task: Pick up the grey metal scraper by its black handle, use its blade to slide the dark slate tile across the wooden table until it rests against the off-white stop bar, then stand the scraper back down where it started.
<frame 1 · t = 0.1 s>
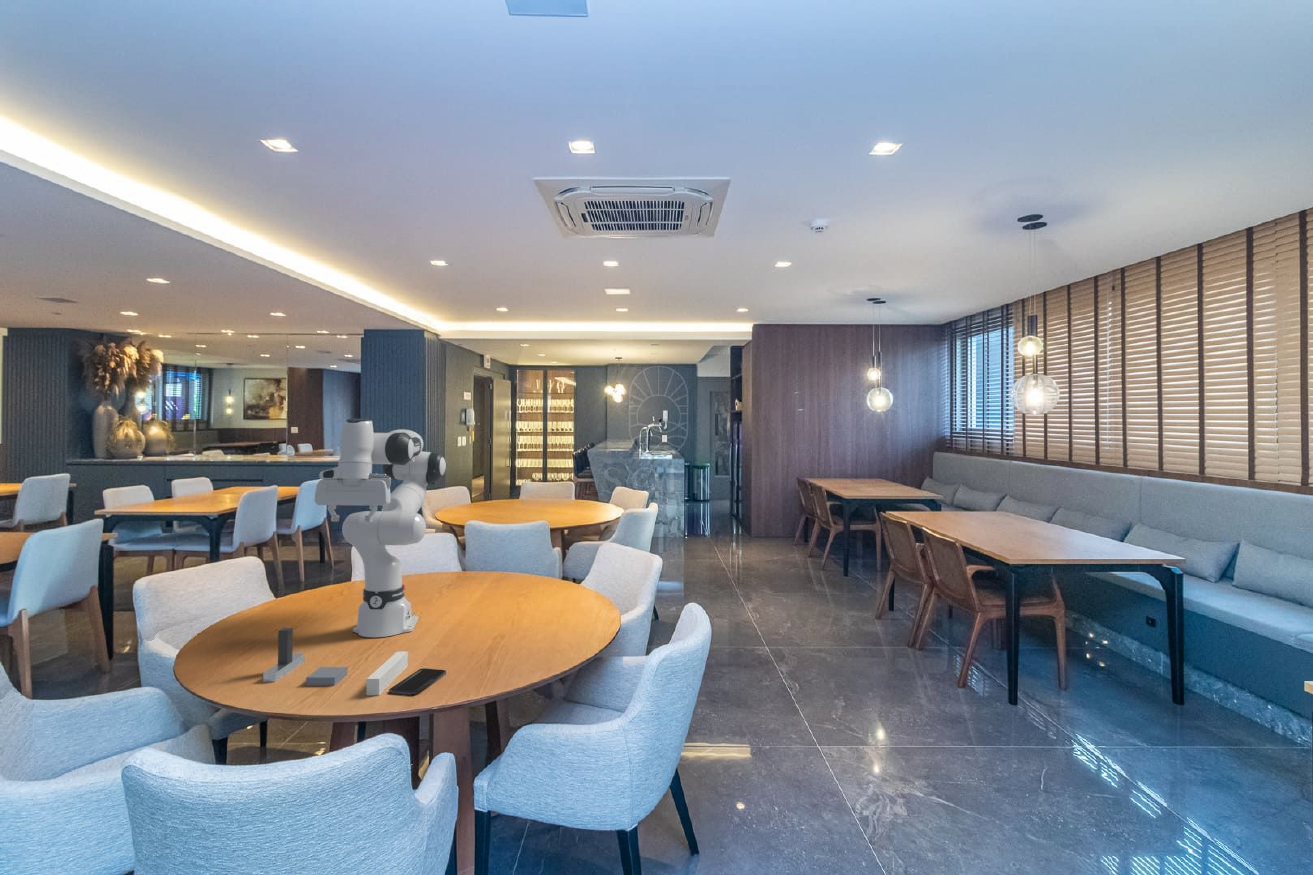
hand: (351, 521, 171), 39 cm above the table, tool pointing down, fingers open, 8 cm apart
slate tile: (327, 681, 154), on the table
phone: (418, 684, 154), on the table
scraper: (284, 672, 160), on the table
stop bar: (388, 679, 155), on the table
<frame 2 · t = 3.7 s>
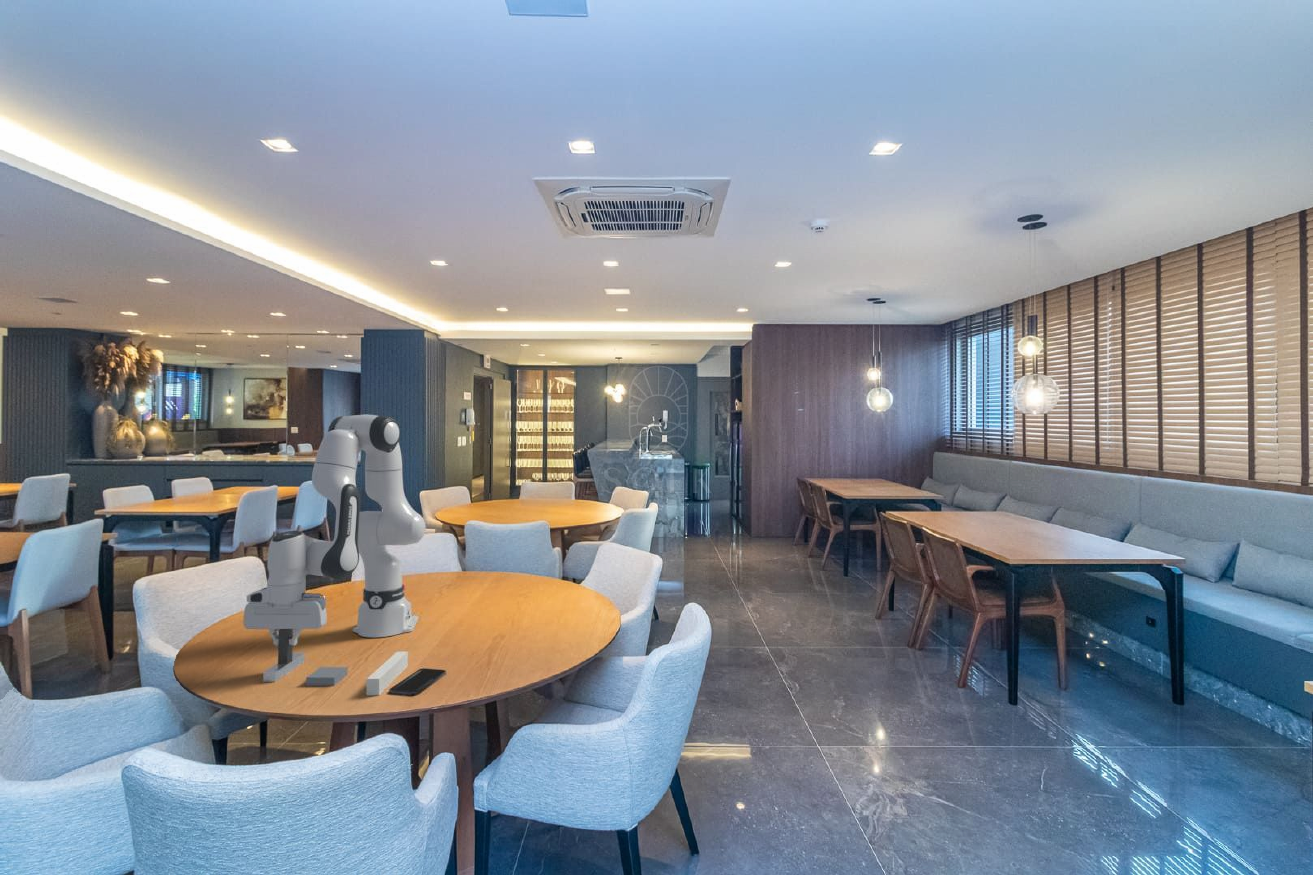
hand: (285, 644, 160), 7 cm above the table, tool pointing down, fingers closed on scraper, 2 cm apart
scraper: (284, 671, 160), on the table, touching gripper
everything else where it was.
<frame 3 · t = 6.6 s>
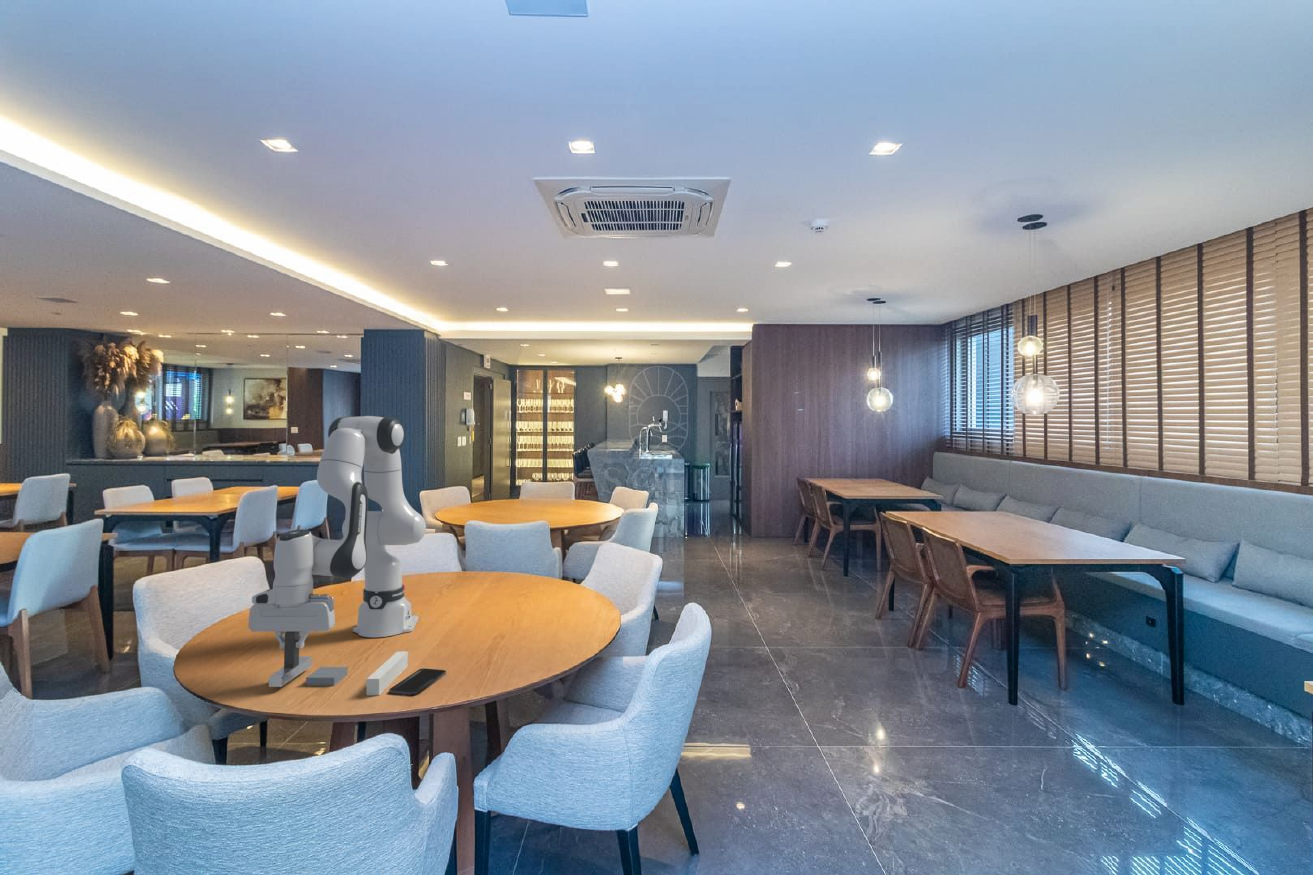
hand: (291, 647, 154), 8 cm above the table, tool pointing down, fingers closed on scraper, 2 cm apart
scraper: (291, 675, 154), point 1 cm above the table, touching gripper
everything else where it was.
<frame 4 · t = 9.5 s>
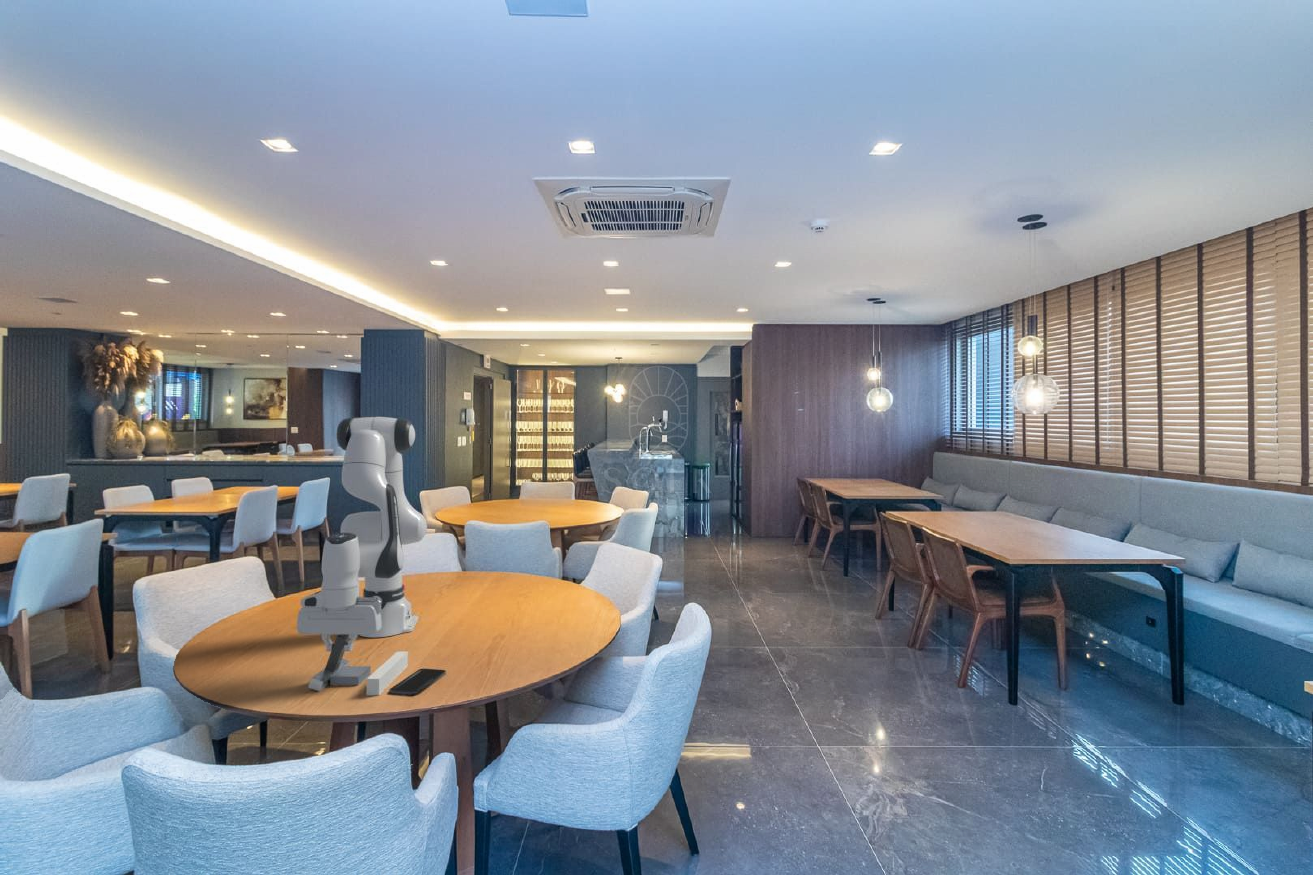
hand: (339, 650, 155), 8 cm above the table, tool pointing down, fingers closed on scraper, 3 cm apart
slate tile: (350, 680, 155), on the table
scraper: (328, 678, 154), on the table, tilted 19°, touching gripper
everything else where it was.
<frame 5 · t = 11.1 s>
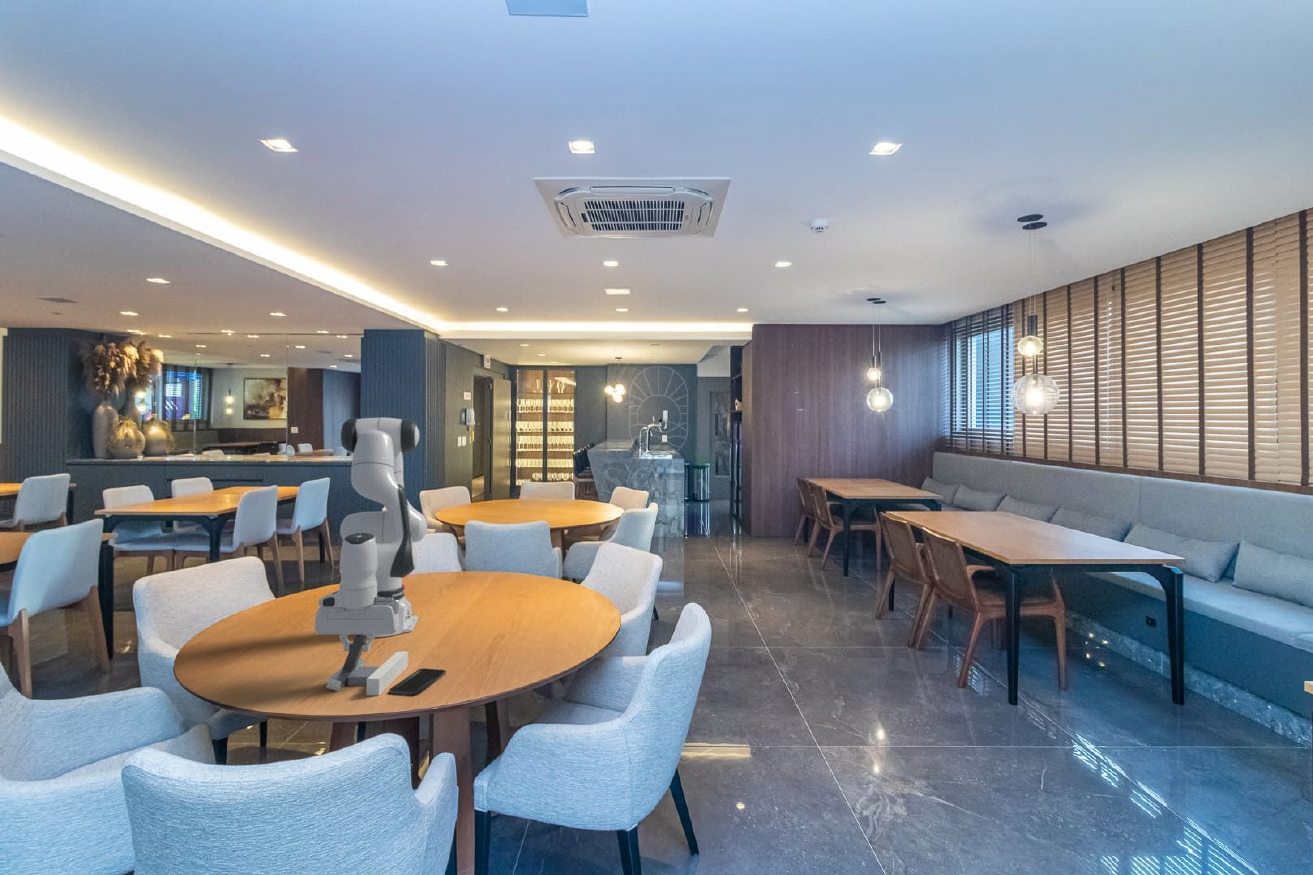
hand: (357, 650, 155), 8 cm above the table, tool pointing down, fingers closed on scraper, 3 cm apart
slate tile: (367, 681, 155), on the table
scraper: (345, 678, 155), point 1 cm above the table, tilted 20°, touching gripper
everything else where it was.
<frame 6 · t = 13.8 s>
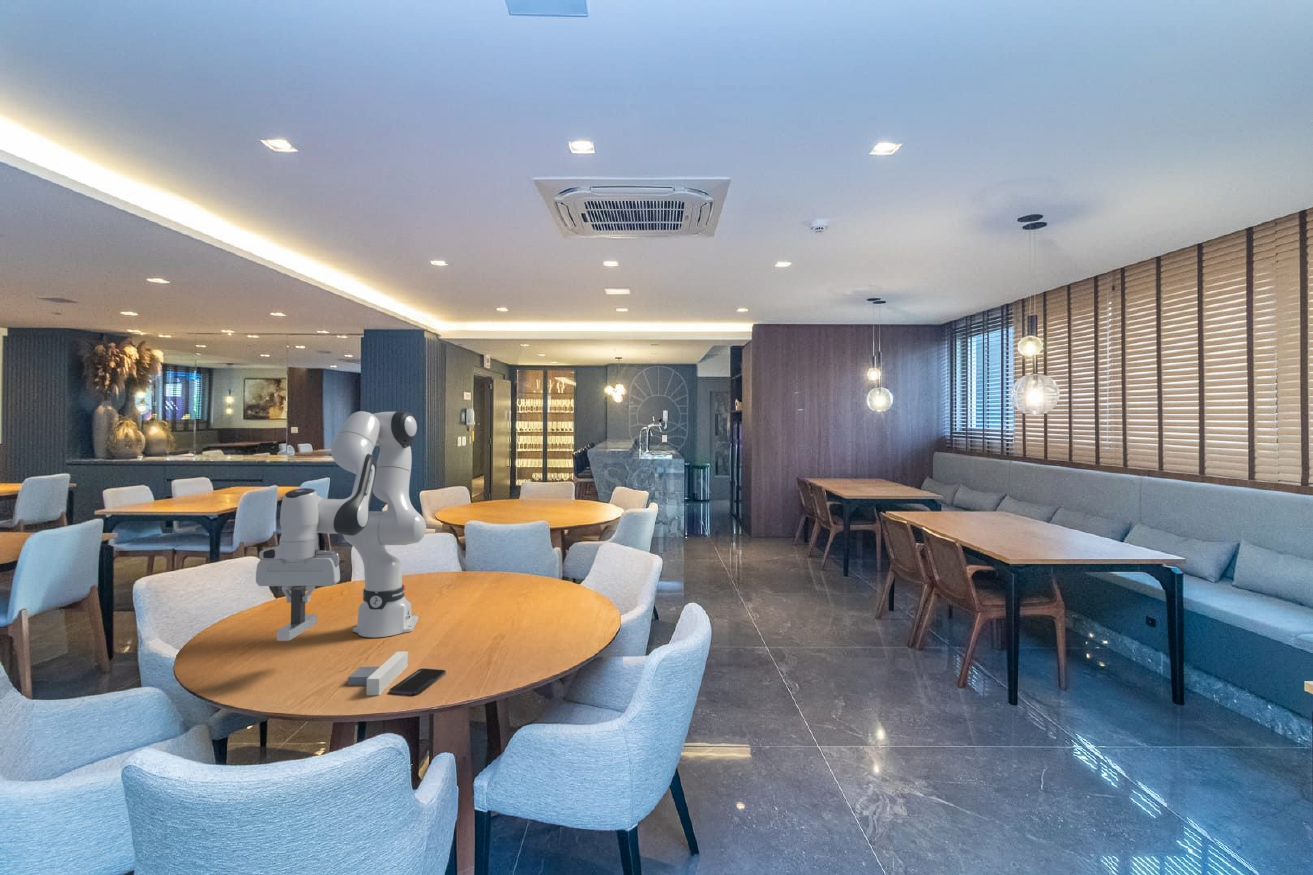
hand: (298, 602, 159), 19 cm above the table, tool pointing down, fingers closed on scraper, 2 cm apart
scraper: (297, 631, 159), point 11 cm above the table, touching gripper
everything else where it was.
when the fingers open (8 cm above the table, at t = 16.5 s): scraper stays where it is, on the table.
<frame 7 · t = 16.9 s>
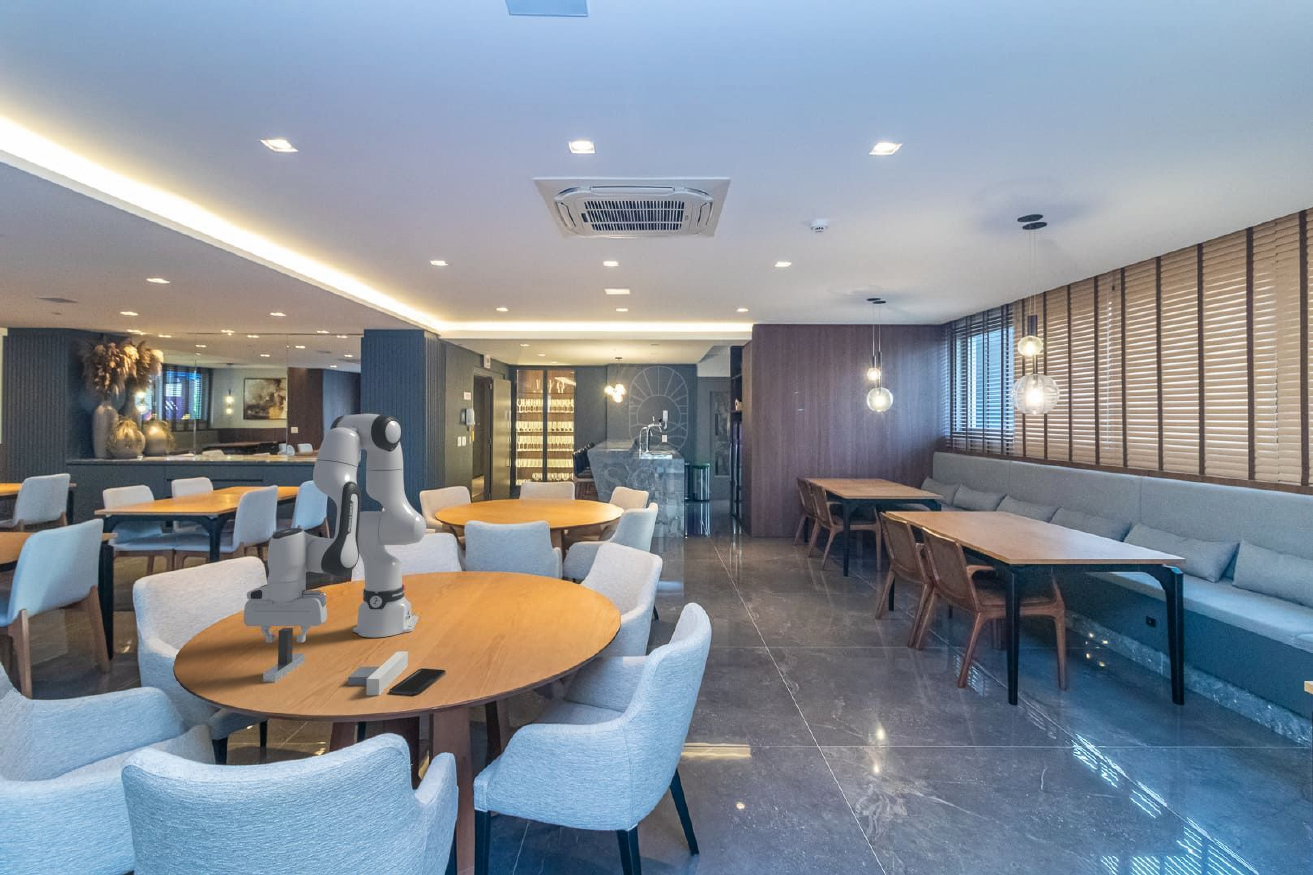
hand: (285, 641, 160), 8 cm above the table, tool pointing down, fingers open, 7 cm apart
scraper: (284, 672, 160), on the table
everything else where it was.
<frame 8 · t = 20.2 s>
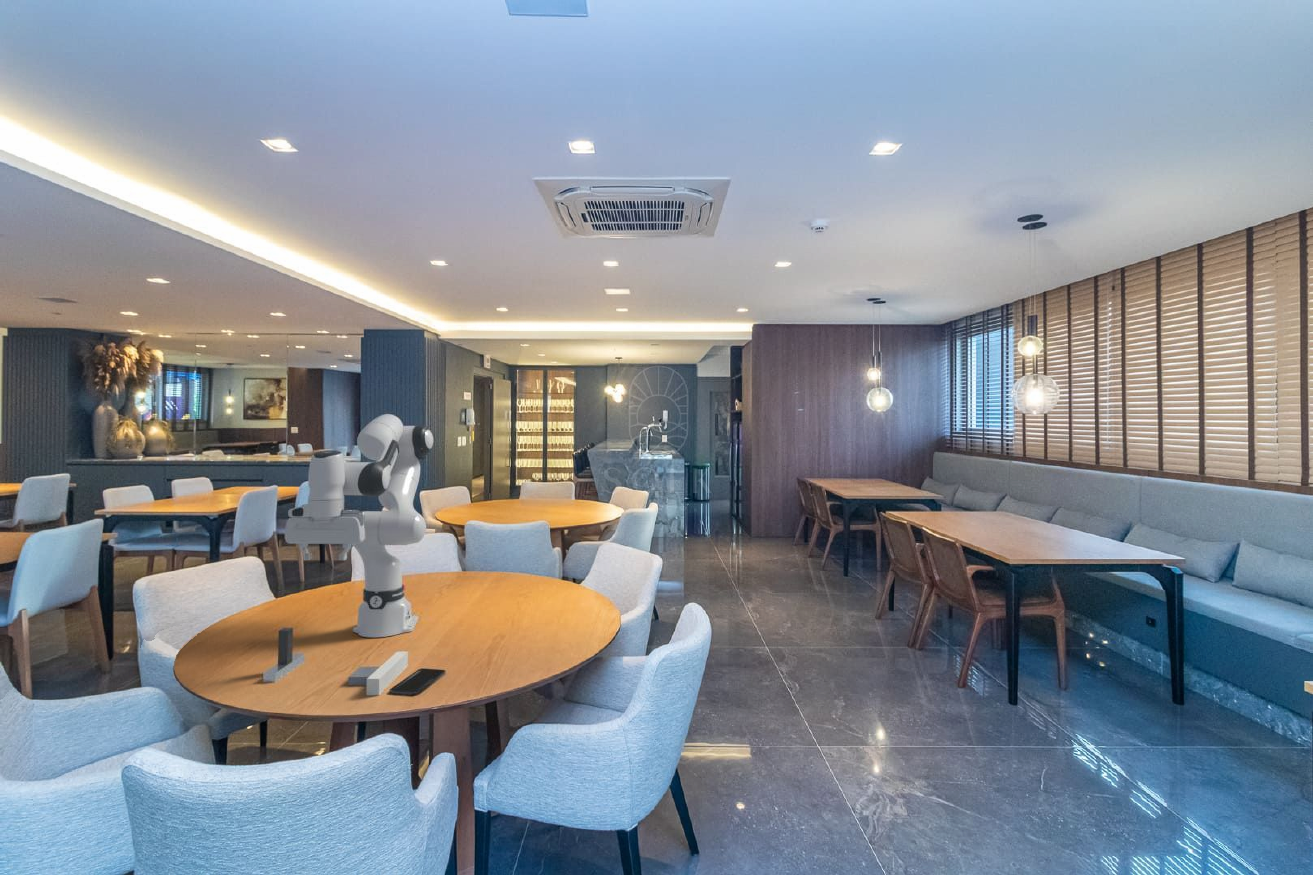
hand: (325, 559, 164), 29 cm above the table, tool pointing down, fingers open, 8 cm apart
nothing on the table moved.
at the end: slate tile 0.6 cm from the target spot, on the table; the gripper is holding nothing; scraper tilted 0° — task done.
